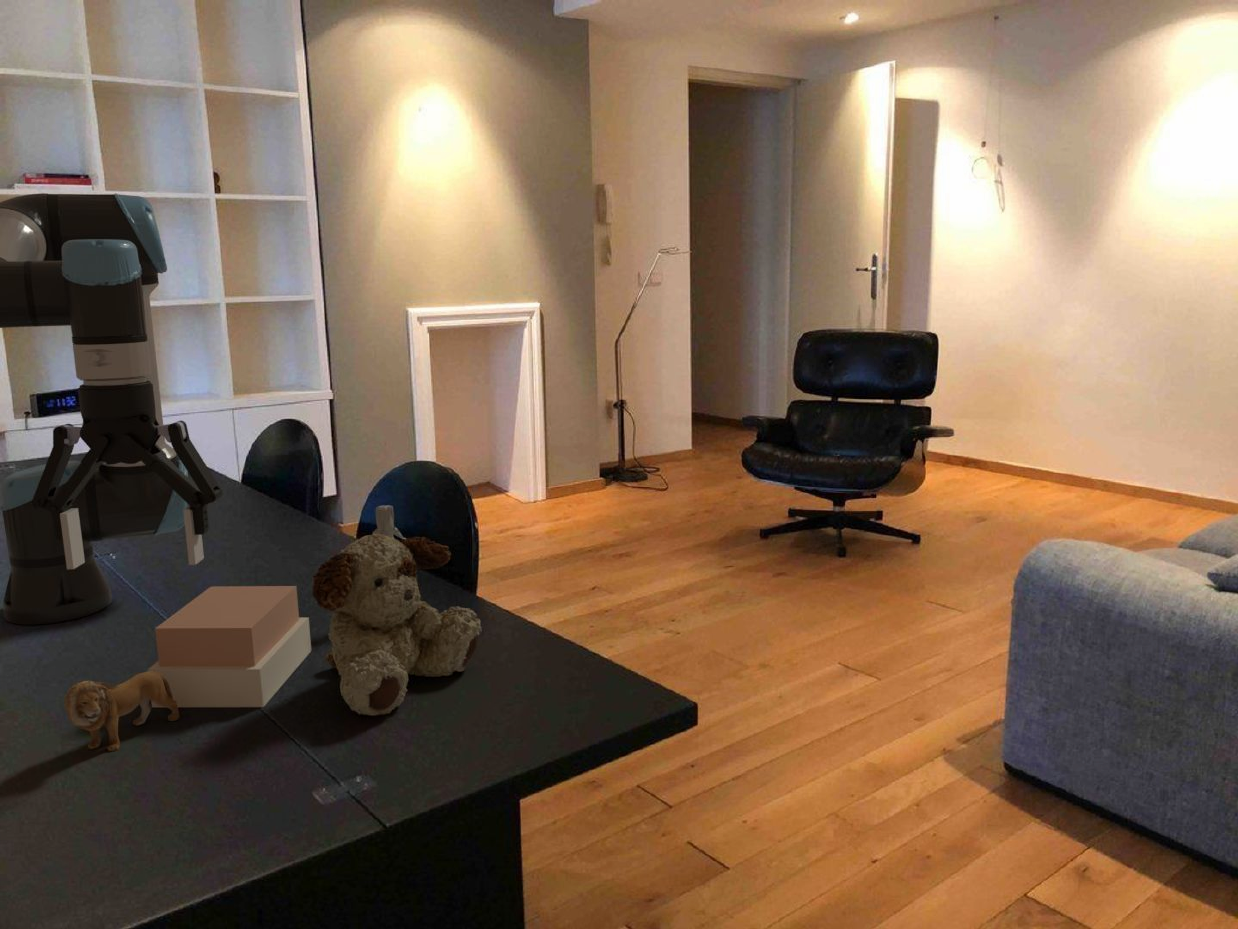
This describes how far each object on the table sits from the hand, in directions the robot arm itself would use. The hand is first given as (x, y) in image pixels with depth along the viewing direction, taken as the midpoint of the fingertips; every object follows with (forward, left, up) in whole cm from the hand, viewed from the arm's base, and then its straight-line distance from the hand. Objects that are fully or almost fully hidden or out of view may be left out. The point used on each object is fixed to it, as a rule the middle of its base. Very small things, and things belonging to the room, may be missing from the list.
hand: (136, 564), depth 113 cm
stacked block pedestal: (+4, +13, -20) cm, 24 cm away
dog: (+24, +12, -20) cm, 34 cm away
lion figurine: (-1, -4, -20) cm, 21 cm away
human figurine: (+19, +35, -20) cm, 45 cm away
